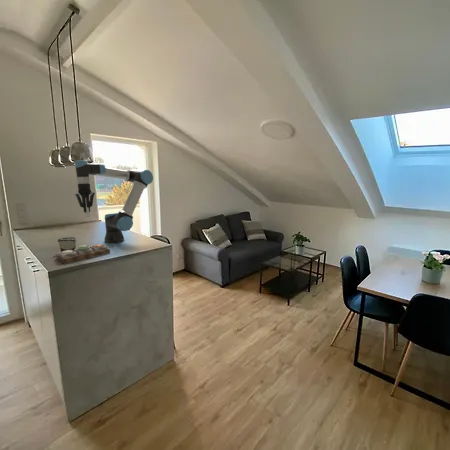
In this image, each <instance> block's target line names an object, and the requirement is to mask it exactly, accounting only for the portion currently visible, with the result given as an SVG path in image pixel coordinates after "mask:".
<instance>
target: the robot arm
mask: <svg viewBox="0 0 450 450" xmlns="http://www.w3.org/2000/svg"><path fill="white" fill-rule="evenodd" d="M74 167H75V172H76V173H75V175H76V181H77V189H78V191H77V193H74V196H75V198H76V199H77V202H78V204H79V206H80V208H83V213H84V214H85V217H86V218H90V216H91V215H90V212H91V207H93V203H94V197H95V192H93V191H92V190H91V184H90V176H98V177H103V178H104V177H105V178H110V179H118V180H123V181H125V182H129V183H133V185H132V187H131V189H130V192H129V194H128V197H127V198H126V200H125V203H124V205H123V207H122V209H121V210H120V211H118V212H115V213H106V214H105V215H104V223H105V226H104V227H105V235H104V238H103V239H104V243H107V244H115V243H121V242H123V240H124V241H125V237H124V234H123V232H128V231H129V230H131V229H132V227H133V225H134V220H133V219H134V216H133V214H134V212H135V209H136V207H137V205H138V203H139V201H140V199H141V197H142V194H143V192H144V190H145V189H147V187H148V186H149V185H150V184H152V183H153V181H154V175H153V173H152V172H151V170H149V169H146V168H145V169H124V170H123V169H118V168H113V167H112V168H111V167H108V166H107V167H106V166H105V163H101V162H100V163H90V162H89V163H88V160H86V159H85V160H84V159H82V160H80V159H77V160H75V162H74Z"/></svg>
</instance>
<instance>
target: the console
mask: <svg viewBox="0 0 450 450" xmlns="http://www.w3.org/2000/svg"><path fill="white" fill-rule="evenodd" d="M110 250H111V249H110V248H109V247H108V246H107V245H105V244H103V247H98V248H94V245H90V246H88V250H84V251H79V250H78V248H76V249H74V251H73V250H72V253H69V254H64V255H63V254H62V252H61V251H58V252H57V254H55V259H56V260H57V261H59V262H60V263H62V264H64V265H65V264H68V263H73V262H77V261H83V260H87V259H91V258H94V257H99V256H103V255H108V254H109V255H110V253H111V251H110Z"/></svg>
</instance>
